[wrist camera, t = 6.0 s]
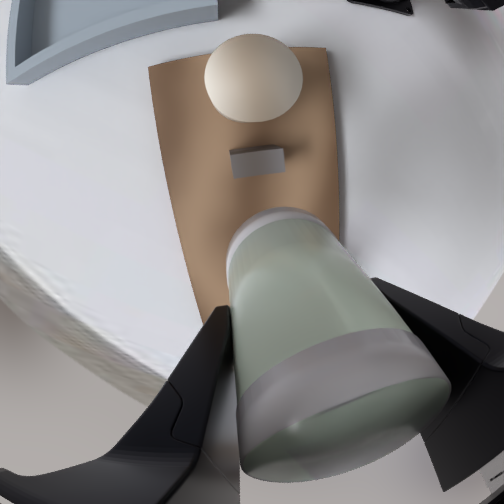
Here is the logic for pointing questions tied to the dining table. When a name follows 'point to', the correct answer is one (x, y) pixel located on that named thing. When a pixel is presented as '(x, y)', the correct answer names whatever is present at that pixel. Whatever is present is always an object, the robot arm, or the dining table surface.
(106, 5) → the tray
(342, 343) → the cylinder
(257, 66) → the fuse rack
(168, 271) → the dining table surface
